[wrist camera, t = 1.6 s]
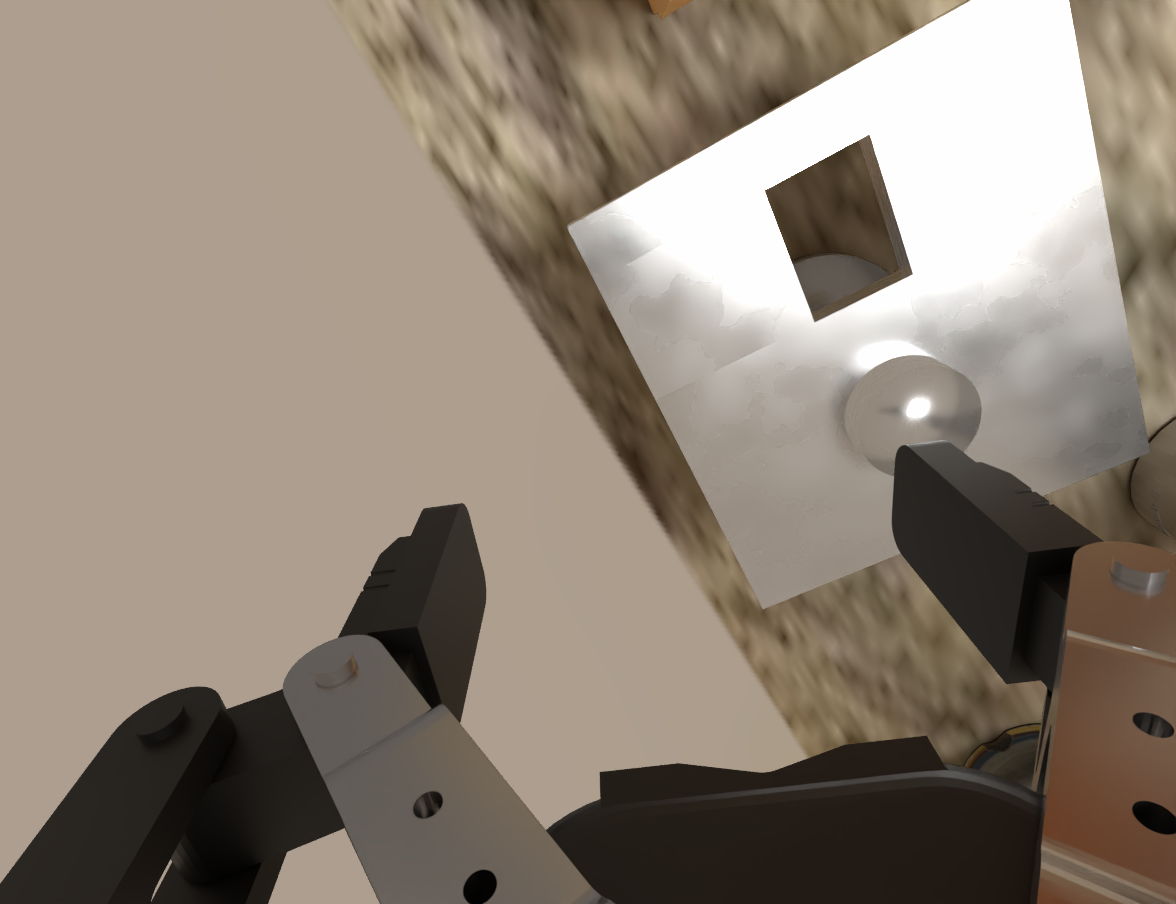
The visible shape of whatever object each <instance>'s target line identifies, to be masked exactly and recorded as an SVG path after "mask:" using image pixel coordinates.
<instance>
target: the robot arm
mask: <svg viewBox="0 0 1176 904" xmlns="http://www.w3.org/2000/svg"><path fill="white" fill-rule="evenodd" d="M1149 449H1150V453H1148V454H1145V455H1143V456H1140V457H1139V460H1138V462H1137V464H1136V466H1135V469H1134V471H1133V475H1132V480H1131V498H1132V501H1133V504H1134V506H1135V509H1136V510H1137V511H1138V513H1139V514H1140V515H1141V516H1142V518H1144V519H1145V520H1147V521H1148V522H1150V523H1151V524H1152V525H1154V526H1156V527H1157V528H1159V529H1160V530H1162V531H1163V532H1164V533H1165V534H1167V535H1168V536H1170V537H1173V538H1174V539H1176V419H1175V420H1174V421H1173V422H1171V423H1170V424H1169V425H1167V426H1166V427H1165V428H1164V429H1162V430H1161V431H1160V432H1159V433H1158V434H1157V435H1156V436H1155V438H1154V439H1153V440H1152V441H1151V442H1150V443H1149ZM892 532H893V536H894V540H895V543H896V545H897V547H898V549H899V551H900V553H901V554H902V556H903V557H904V558H905V559H906V561H907V562H908V563H909V564H910V566H911V567H912V568H913V569H914V570H915V572H916V573H917V574H918V575H919V577H920V578H921V579H922V580H923V582H924V583H925V584H926V585H927V587H928V588H929V589H930V590H931V591H932V593H933V594H934V595H935V596H936V598H937V599H938V600H939V601H940V603H941V604H942V605H943V606H944V608H945V609H946V610H947V611H948V612H949V614H950V615H951V616H952V617H953V619H954V620H955V621H956V622H957V624H958V625H959V626H960V627H961V629H962V630H963V631H964V632H965V633H966V635H967V636H968V637H969V638H970V640H971V641H972V642H973V643H974V645H975V646H976V647H977V648H978V650H979V651H980V652H981V653H982V654H983V656H984V657H985V658H986V659H987V661H988V662H989V663H990V664H991V666H992V667H993V668H994V669H995V671H996V672H997V673H998V674H999V675H1000V677H1001V678H1002V679H1003V680H1004V682H1005V683H1006V684H1012V683H1021V682H1029V681H1038V680H1041V681H1042V682H1043V683H1044V684H1045V685H1046V687H1047V691H1046V696H1045V701H1044V706H1043V712H1042V719H1041V726H1040V733H1039V740H1038V747H1037V754H1036V761H1035V768H1034V775H1033V781H1032V788H1031V789H1029V788H1027V787H1025V786H1023V785H1020V784H1018V783H1015V782H1013V781H1010V780H1007V779H1005V778H1002V777H1000V776H997V775H993V774H990V773H987V772H983V771H980V770H977V769H972V768H968V767H963V766H958V765H953V764H945V763H943V762H942V761H941V759H940V757H939V756H938V754H937V752H936V751H935V749H934V747H933V746H932V744H931V742H930V741H929V739H928V737H927V736H921V737H912V738H903V739H894V740H885V741H876V742H867V743H858V744H849V745H843V746H840V747H838V748H835V749H832V750H830V751H827V752H824V753H821V754H819V755H816V756H813V757H811V758H808V759H805V760H802V761H800V762H797V763H794V764H792V765H789V766H786V767H784V768H781V769H778V770H775V771H772V772H766V773H758V772H749V771H740V770H732V769H722V768H714V767H705V766H697V765H688V764H679V763H678V764H669V765H660V766H651V767H642V768H633V769H624V770H616V771H607V772H600V796H601V799H599V800H597V801H594V802H592V803H589V804H587V805H585V806H583V807H581V808H579V809H577V810H575V811H573V812H571V813H569V814H568V815H566V816H565V817H563V818H562V819H560V820H559V821H557V822H556V823H554V824H553V825H552V826H551V827H549V828H548V829H547V830H545V829H544V827H543V826H542V825H541V824H540V822H539V821H538V820H537V819H536V818H535V816H534V815H533V814H532V813H531V811H530V810H529V809H528V808H527V806H526V805H525V804H524V803H523V801H522V800H521V799H520V798H519V796H518V795H517V794H516V793H515V792H514V790H513V789H512V788H511V787H510V785H509V784H508V783H507V781H506V780H505V779H504V778H503V776H502V775H501V774H500V773H499V771H498V770H497V769H496V768H495V766H494V765H493V764H492V763H491V762H490V760H489V759H488V758H487V757H486V755H485V754H484V753H483V752H482V750H481V749H480V748H479V747H478V745H477V744H476V743H475V742H474V740H473V739H472V738H471V737H470V736H469V734H468V733H467V732H466V731H465V729H464V728H463V727H462V725H461V724H460V721H461V717H462V713H463V708H464V703H465V698H466V693H467V689H468V684H469V679H470V675H471V670H472V666H473V661H474V656H475V652H476V647H477V642H478V637H479V633H480V628H481V623H482V619H483V614H484V609H485V604H486V582H485V576H484V571H483V567H482V563H481V559H480V555H479V551H478V548H477V543H476V539H475V535H474V532H473V528H472V524H471V520H470V516H469V513H468V510H467V508H466V506H465V505H464V504H463V503H461V504H453V505H446V506H439V507H431V508H425V509H423V511H422V512H421V514H420V517H419V519H418V521H417V523H416V525H415V528H414V530H413V532H412V534H411V536H407V537H400V538H398V539H397V540H396V541H394V542H393V543H392V544H391V545H390V546H389V547H388V548H387V549H386V550H384V551H383V552H382V553H381V554H380V556H379V557H378V559H377V561H376V563H375V565H374V568H373V569H372V571H371V576H369V577H368V579H367V581H366V583H365V585H364V587H363V589H364V591H362V592H361V593H360V595H359V597H358V599H357V601H356V603H355V605H354V607H353V609H352V611H351V613H350V615H349V617H348V619H347V621H346V623H345V625H344V627H343V629H342V631H341V633H340V635H339V636H338V638H337V639H334V640H331V641H328V642H326V643H324V644H322V645H320V646H318V647H316V648H315V649H313V650H311V651H310V652H308V653H307V654H305V655H304V656H303V657H302V658H301V659H299V660H298V661H297V663H295V665H294V666H293V667H292V668H291V669H290V671H289V672H288V674H287V676H286V678H285V680H284V684H283V689H282V690H279V691H277V692H274V693H272V694H269V695H266V696H263V697H261V698H257V699H255V700H252V701H249V702H246V703H243V704H240V705H237V706H234V707H232V708H229V709H226V707H225V706H224V703H223V701H222V700H221V698H220V696H219V694H218V693H217V692H216V691H215V690H213V689H211V688H208V687H189V688H185V689H180V690H177V691H174V692H171V693H169V694H166V695H164V696H162V697H160V698H158V699H156V700H154V701H152V702H150V703H149V704H147V705H145V706H143V707H142V708H140V709H139V710H138V711H136V712H135V713H134V714H132V715H131V716H130V717H129V718H127V719H126V720H125V721H124V722H123V723H122V724H121V725H120V726H119V727H118V728H117V729H116V730H115V732H114V733H113V734H112V735H111V737H110V738H109V739H108V741H107V742H106V743H105V745H104V746H103V747H102V748H101V750H100V751H99V753H98V754H97V755H96V757H95V758H94V759H93V760H92V762H91V763H90V764H89V766H88V767H87V769H86V770H85V771H84V773H83V774H82V775H81V777H80V778H79V779H78V781H77V782H76V783H75V785H74V786H73V787H72V789H71V790H70V791H69V793H68V794H67V796H66V797H65V798H64V799H63V801H62V802H61V803H60V805H59V806H58V807H57V809H56V810H55V811H54V813H53V814H52V815H51V817H50V818H49V820H48V821H47V822H46V823H45V825H44V826H43V827H42V829H41V830H40V831H39V833H38V834H37V835H36V837H35V838H34V839H33V841H32V842H31V843H30V845H29V846H28V847H27V849H26V850H25V852H24V853H23V854H22V856H21V857H20V858H19V860H18V861H17V862H16V863H15V865H14V866H13V867H12V869H11V870H10V871H9V873H8V874H7V875H6V877H5V878H4V880H3V881H2V882H1V883H0V904H268V902H269V900H270V897H271V894H272V891H273V889H274V886H275V883H276V881H277V878H278V875H279V872H280V870H281V866H282V864H283V861H284V858H285V856H286V853H287V852H288V851H290V850H293V849H295V848H297V847H300V846H302V845H305V844H307V843H310V842H312V841H314V840H317V839H319V838H322V837H324V836H327V835H329V834H331V833H334V832H336V831H339V830H341V829H343V828H345V830H346V832H347V834H348V836H349V838H350V841H351V843H352V845H353V847H354V849H355V851H356V854H357V856H358V858H359V860H360V862H361V864H362V866H363V868H364V871H365V873H366V875H367V877H368V879H369V882H370V884H371V886H372V888H373V890H374V892H375V894H376V897H377V899H378V901H379V903H380V904H1176V555H1175V554H1173V553H1170V552H1168V551H1165V550H1162V549H1159V548H1155V547H1151V546H1147V545H1143V544H1138V543H1130V542H1119V541H1105V542H1104V541H1102V540H1101V539H1100V538H1098V537H1097V536H1096V535H1094V534H1093V533H1091V532H1090V531H1089V530H1087V529H1086V528H1085V527H1083V526H1082V525H1081V524H1079V523H1078V522H1076V521H1075V520H1074V519H1072V518H1071V517H1070V516H1068V515H1067V514H1066V513H1064V512H1063V511H1061V510H1060V509H1059V508H1057V507H1056V506H1055V505H1049V501H1048V500H1046V499H1045V498H1044V497H1042V496H1041V495H1040V494H1038V493H1037V492H1032V490H1031V488H1030V487H1029V486H1027V485H1026V484H1025V483H1023V482H1022V481H1021V480H1019V479H1018V478H1016V477H1015V476H1014V475H1012V474H1011V473H1009V472H1006V471H1004V470H1001V469H998V468H996V467H993V466H991V465H988V464H985V463H983V462H975V461H974V460H973V459H971V458H970V457H969V456H967V455H966V454H965V453H964V452H962V451H961V450H960V449H958V448H957V447H956V446H954V445H953V444H952V443H951V442H949V441H947V440H938V441H930V442H923V443H915V444H908V445H902V446H900V447H899V448H898V450H897V453H896V457H895V469H894V485H893V502H892ZM170 859H171V860H172V864H171V865H170V867H169V869H168V871H167V873H166V875H165V877H164V879H163V881H162V882H161V884H160V887H159V888H158V890H157V892H156V894H155V896H154V898H153V900H152V901H151V899H152V896H153V893H154V890H155V888H156V885H157V884H158V881H159V880H160V878H161V876H162V874H163V872H164V870H165V868H166V866H167V865H168V863H169V861H170Z"/></svg>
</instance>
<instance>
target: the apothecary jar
mask: <svg viewBox="0 0 1176 904" xmlns="http://www.w3.org/2000/svg"><path fill="white" fill-rule="evenodd" d="M1040 726H1041V724H1032V725H1025V726H1021V727H1017V728H1013V729H1010V730H1008V731H1005V732H1004V733H1003V734H1002V735H1001V736H1000V737H999V738H998V739H997V740H996V741H994V742H992V743H986V744H982V745H981V746H980V747H979V748H977V749H976V750H975V751H974V752H973V754H972V755H971V756H970V757H969V758H968V760H967V761H966V763H965V766H964V767H968V768H972V769H977V770H980V771H983V772H987V773H990V774H993V775H997V776H1000V777H1002V778H1005V779H1007V780H1010V781H1013V782H1015V783H1018V784H1020V785H1023V786H1025V787H1027V788H1029V789H1031V788H1032V781H1033V775H1034V768H1035V761H1036V754H1037V747H1038V740H1039V733H1040Z"/></svg>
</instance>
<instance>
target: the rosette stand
mask: <svg viewBox="0 0 1176 904" xmlns="http://www.w3.org/2000/svg"><path fill="white" fill-rule="evenodd" d="M857 140H859V143H860V146H861V150H862V153H863V156H864V159H865V162H866V165H867V169H868V172H869V175H870V178H871V181H872V184H873V187H874V191H875V194H876V197H877V200H878V203H879V206H880V210H881V213H882V216H883V219H884V222H885V225H886V228H887V232H888V235H889V238H890V241H891V244H892V247H893V250H894V254H895V257H896V260H897V263H898V266H899V269H900V270H898V271H896V272H894V273H892V274H890V275H889V274H888V273H887V272H886V271H885V270H883V269H882V268H880V267H879V266H877V265H875V264H874V263H871V262H869V261H866V260H864V259H861V258H859V257H856V256H852V255H848V254H842V253H818V254H812V255H807V256H804V257H801V258H797V259H795V260H793V261H791V259H790V257H789V254H788V252H787V249H786V246H785V244H784V241H783V239H782V236H781V233H780V231H779V228H778V226H777V223H776V220H775V218H774V215H773V212H772V210H771V207H770V205H769V202H768V199H767V197H766V194H765V192H764V190H766V189H768V188H770V187H772V186H774V185H776V184H777V183H779V182H781V181H783V180H785V179H787V178H789V177H790V176H792V175H794V174H796V173H798V172H800V171H802V170H803V169H805V168H807V167H809V166H811V165H813V164H815V163H817V162H818V161H820V160H822V159H824V158H826V157H828V156H830V155H831V154H833V153H835V152H837V151H839V150H841V149H843V148H844V147H846V146H848V145H850V144H852V143H854V142H856V141H857ZM567 229H568V231H569V233H570V234H571V236H572V238H573V240H574V242H575V244H576V246H577V248H578V250H579V252H580V254H581V256H582V258H583V260H584V262H585V264H586V266H587V268H588V270H589V271H590V273H591V275H592V277H593V279H594V281H595V283H596V285H597V287H598V289H599V291H600V293H601V295H602V297H603V299H604V301H605V303H606V305H607V307H608V309H609V310H610V312H611V314H612V316H613V318H614V320H615V322H616V324H617V326H618V328H619V330H620V332H621V334H622V336H623V338H624V340H625V342H626V344H627V346H628V348H629V349H630V351H631V353H632V355H633V357H634V359H635V361H636V363H637V365H638V367H639V369H640V371H641V373H642V375H643V377H644V379H645V381H646V383H647V385H648V387H649V388H650V390H651V392H652V394H653V396H654V398H655V400H656V402H657V404H658V406H659V408H660V410H661V412H662V414H663V416H664V418H665V420H666V422H667V424H668V426H669V427H670V429H671V431H672V433H673V435H674V437H675V439H676V441H677V443H678V445H679V447H680V449H681V451H682V453H683V455H684V457H685V459H686V461H687V463H688V465H689V466H690V468H691V470H692V472H693V474H694V476H695V478H696V480H697V482H698V484H699V486H700V488H701V490H702V492H703V494H704V496H705V498H706V500H707V502H708V503H709V505H710V507H711V509H712V511H713V513H714V515H715V517H716V519H717V521H718V523H719V525H720V527H721V529H722V531H723V533H724V535H725V537H726V539H727V541H728V542H729V544H730V546H731V548H732V550H733V552H734V554H735V556H736V558H737V560H738V562H739V564H740V566H741V568H742V570H743V572H744V574H745V576H746V578H747V580H748V581H749V583H750V585H751V587H752V589H753V591H754V593H755V595H756V597H757V599H758V601H759V603H760V605H761V607H762V609H765V608H767V607H770V606H772V605H775V604H777V603H780V602H782V601H785V600H787V599H790V598H792V597H795V596H797V595H800V594H802V593H804V592H807V591H809V590H812V589H814V588H817V587H819V586H822V585H824V584H827V583H829V582H832V581H834V580H837V579H839V578H842V577H844V576H846V575H849V574H851V573H854V572H856V571H859V570H861V569H864V568H866V567H869V566H871V565H874V564H876V563H879V562H881V561H884V560H886V559H888V558H891V557H893V556H896V555H898V554H901V553H900V551H899V549H898V547H897V545H896V543H895V540H894V536H893V532H892V502H893V485H894V469H895V457H896V453H897V450H898V448H899V447H900V446H902V445H908V444H915V443H923V442H930V441H938V440H947V441H949V442H951V443H952V444H953V445H954V446H956V447H957V448H958V449H960V450H961V451H962V452H964V453H965V454H966V455H967V456H969V457H970V458H971V459H973V460H974V461H975V462H983V463H985V464H988V465H991V466H993V467H996V468H998V469H1001V470H1004V471H1006V472H1009V473H1011V474H1012V475H1014V476H1015V477H1016V478H1018V479H1019V480H1021V481H1022V482H1023V483H1025V484H1026V485H1027V486H1029V487H1030V488H1031V490H1032V492H1037V493H1038V494H1040V495H1041V496H1044V495H1047V494H1049V493H1052V492H1054V491H1056V490H1059V489H1061V488H1064V487H1066V486H1069V485H1071V484H1074V483H1076V482H1079V481H1081V480H1084V479H1086V478H1089V477H1091V476H1094V475H1096V474H1098V473H1101V472H1103V471H1106V470H1108V469H1111V468H1113V467H1116V466H1118V465H1121V464H1123V463H1126V462H1128V461H1131V460H1133V459H1136V458H1138V457H1140V456H1143V455H1145V454H1148V453H1150V449H1149V443H1148V438H1147V432H1146V427H1145V421H1144V416H1143V410H1142V405H1141V399H1140V393H1139V388H1138V382H1137V377H1136V371H1135V366H1134V360H1133V355H1132V349H1131V344H1130V338H1129V332H1128V327H1127V321H1126V316H1125V310H1124V305H1123V299H1122V294H1121V288H1120V283H1119V277H1118V272H1117V266H1116V260H1115V255H1114V249H1113V244H1112V238H1111V233H1110V227H1109V222H1108V216H1107V211H1106V205H1105V199H1104V194H1103V188H1102V183H1101V177H1100V172H1099V166H1098V161H1097V155H1096V150H1095V144H1094V138H1093V133H1092V127H1091V122H1090V116H1089V111H1088V105H1087V100H1086V94H1085V89H1084V83H1083V78H1082V72H1081V66H1080V61H1079V55H1078V50H1077V44H1076V39H1075V33H1074V28H1073V22H1072V17H1071V11H1070V5H1069V0H967V1H965V2H963V3H961V4H960V5H958V6H956V7H954V8H952V9H951V10H949V11H947V12H945V13H944V14H942V15H940V16H938V17H936V18H935V19H933V20H931V21H929V22H927V23H926V24H924V25H922V26H920V27H919V28H917V29H915V30H913V31H911V32H910V33H908V34H906V35H904V36H903V37H901V38H899V39H897V40H895V41H894V42H892V43H890V44H888V45H887V46H885V47H883V48H881V49H879V50H878V51H876V52H874V53H872V54H870V55H869V56H867V57H865V58H863V59H862V60H860V61H858V62H856V63H854V64H853V65H851V66H849V67H847V68H846V69H844V70H842V71H840V72H838V73H837V74H835V75H833V76H831V77H830V78H828V79H826V80H824V81H822V82H821V83H819V84H817V85H815V86H813V87H812V88H810V89H808V90H806V91H805V92H803V93H801V94H799V95H797V96H796V97H794V98H792V99H790V100H789V101H787V102H785V103H783V104H781V105H780V106H778V107H776V108H774V109H773V110H771V111H769V112H767V113H765V114H764V115H762V116H760V117H758V118H756V119H755V120H753V121H751V122H749V123H748V124H746V125H744V126H742V127H740V128H739V129H737V130H735V131H733V132H732V133H730V134H728V135H726V136H724V137H723V138H721V139H719V140H717V141H716V142H714V143H712V144H710V145H708V146H707V147H705V148H703V149H701V150H699V151H698V152H696V153H694V154H692V155H691V156H689V157H687V158H685V159H683V160H682V161H680V162H678V163H676V164H675V165H673V166H671V167H669V168H667V169H666V170H664V171H662V172H660V173H659V174H657V175H655V176H653V177H651V178H650V179H648V180H646V181H644V182H642V183H641V184H639V185H637V186H635V187H634V188H632V189H630V190H628V191H626V192H625V193H623V194H621V195H619V196H618V197H616V198H614V199H612V200H610V201H609V202H607V203H605V204H603V205H602V206H600V207H598V208H596V209H594V210H593V211H591V212H589V213H587V214H585V215H584V216H582V217H580V218H578V219H577V220H575V221H573V222H571V223H569V224H568V225H567Z"/></svg>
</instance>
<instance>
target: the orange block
mask: <svg viewBox="0 0 1176 904" xmlns="http://www.w3.org/2000/svg"><path fill="white" fill-rule="evenodd" d="M648 1H649V4H650V6H651V9H652V11H653V14H656V13H658V15H659V18H660V20H661V19H662V18H664V17H666V16H667V15H669V14H671V13H672V12H674V11H675V10H677V9H679V8H680V7H682V6H684V5H685V4H687V3H689V2H690V1H692V0H648Z"/></svg>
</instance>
